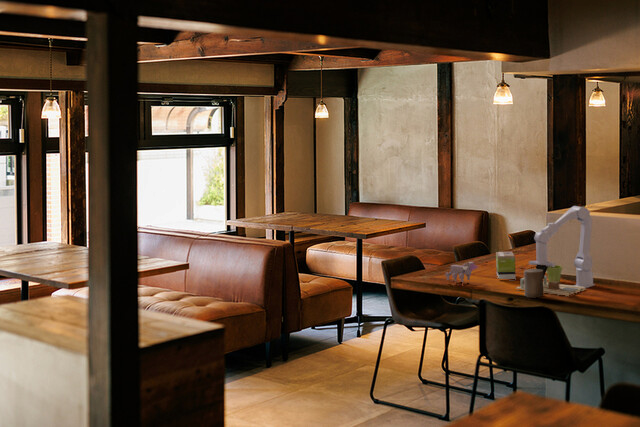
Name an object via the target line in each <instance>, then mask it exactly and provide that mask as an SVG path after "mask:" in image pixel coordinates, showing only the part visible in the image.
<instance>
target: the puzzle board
mask: <svg viewBox="0 0 640 427" xmlns="http://www.w3.org/2000/svg"><path fill="white" fill-rule="evenodd" d="M566 287H567V288H575V289H578V290H575V291H573V292H570V291H561V290H560V289H563V288H566ZM516 289H522V290H525V288H524V287H520V286H517V287H516ZM580 291H581V292H583V291H586V288H585V287H581V286H574V285H572V284H571V285H570V284H562V283H559V289H558V290H551V289H548V282H547V284H546V285H545V284H544V281H543V292H545V293H550V294H549V295H551V294H557V295H556V296H559V295H565V296H564V297H567V296H568V297H570V296H569V295H571V294H573V295H575V294H574V293H576V294H577V292H579V293H581V292H580ZM571 296H572V295H571Z"/></svg>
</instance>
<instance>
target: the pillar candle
mask: <svg viewBox="0 0 640 427" xmlns="http://www.w3.org/2000/svg"><path fill="white" fill-rule="evenodd" d="M523 278H524V280H523V281H524V288H525V291H524V297H525V296H526V297H525V298H529V299H530V298H531V299H534V298H535V299H537V298H536V297H540V296H543V297H544V294H543V282H544V279H543V270H541V269H536V268H530V269H529V268H528V269H524V272H523ZM540 298H541V297H540Z"/></svg>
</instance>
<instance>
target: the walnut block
mask: <svg viewBox="0 0 640 427" xmlns="http://www.w3.org/2000/svg"><path fill="white" fill-rule="evenodd" d="M547 283H548V289H551V290H558V289H559V284H560V282H555V281H551V282H549V281H547Z"/></svg>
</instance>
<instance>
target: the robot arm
mask: <svg viewBox="0 0 640 427" xmlns="http://www.w3.org/2000/svg"><path fill="white" fill-rule="evenodd" d="M590 212H591V211H590V210H589V209H588V208H587V207H584V206H578V205H573V206H571V207H570V208H568V210H566V212H565V213H563V215H561V216H560V217H559V218H558V219H557V220H556V221H555V222H548V223H547V226H545V227H544V228H542V229H541V230H540V231H537V232H536V233H535V234H534V236H533V239H534V241H535V250H536V251H535V255H536V257H535V258H536V260H529V261H528V265H529V266H531V265H533V266H535V269H541V270H543V280H544V276H546V274H547V268H548V266H550V267H555V265H556V263H555V262H550V261H548V242H549V241H550V238H551V237H553V236H554V235H555V234H556V233H558V232H559V229H560V227H561V226H563V225H564V224H566V223H568V221H570V220H578V222H579V223H580V224H581V225H580V234H579V235H580V236H579V249H578V252H577V254H576V255H575V259H574V262H573V265H574V267H575V268H576V269H575V270H576V274H575V275H576V284H574V285H573V286H581V287H585V289H588V288H590V287H593V286H595V285H596V284H595V283H594V272H593V270H592V269H593V265H594V263H593V257H592V255H591V253H590V248H591V240H592V228H593V219H592V216H591V214H590Z"/></svg>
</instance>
